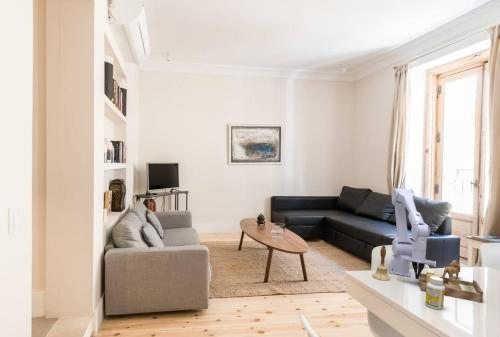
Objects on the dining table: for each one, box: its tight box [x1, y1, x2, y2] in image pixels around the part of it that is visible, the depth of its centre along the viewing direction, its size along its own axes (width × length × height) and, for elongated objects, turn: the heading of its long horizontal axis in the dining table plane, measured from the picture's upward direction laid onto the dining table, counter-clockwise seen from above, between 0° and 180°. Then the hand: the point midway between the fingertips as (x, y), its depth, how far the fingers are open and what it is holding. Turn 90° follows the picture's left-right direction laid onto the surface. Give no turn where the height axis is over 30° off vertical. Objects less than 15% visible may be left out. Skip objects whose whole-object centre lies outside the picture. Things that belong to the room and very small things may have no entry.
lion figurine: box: [441, 259, 461, 280], centre depth 166 cm, size 15×5×9 cm, turn 130°
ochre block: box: [425, 271, 441, 283], centre depth 153 cm, size 5×5×4 cm
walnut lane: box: [418, 272, 484, 304], centre depth 150 cm, size 23×16×4 cm
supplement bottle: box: [425, 276, 445, 310], centre depth 132 cm, size 6×6×11 cm
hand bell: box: [371, 245, 391, 282], centre depth 162 cm, size 8×8×16 cm
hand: (416, 278), depth 156 cm, fingers closed
